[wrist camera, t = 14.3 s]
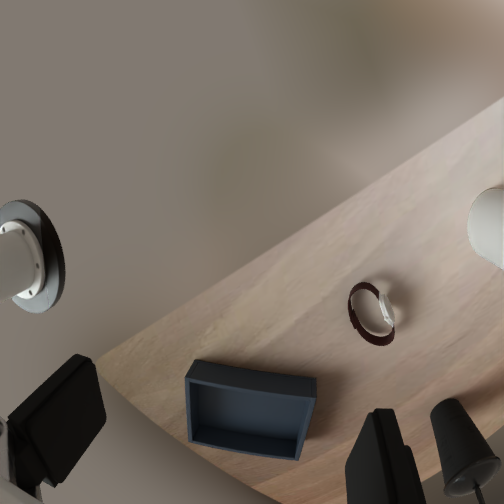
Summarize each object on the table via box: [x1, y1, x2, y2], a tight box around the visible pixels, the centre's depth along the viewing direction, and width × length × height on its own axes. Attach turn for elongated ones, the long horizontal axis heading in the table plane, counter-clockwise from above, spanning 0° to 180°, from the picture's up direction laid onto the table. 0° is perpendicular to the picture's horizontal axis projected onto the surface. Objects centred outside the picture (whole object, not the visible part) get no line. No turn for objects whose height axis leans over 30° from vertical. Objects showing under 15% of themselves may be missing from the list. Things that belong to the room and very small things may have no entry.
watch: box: [348, 282, 395, 346], centre depth 31 cm, size 8×5×4 cm, turn 33°
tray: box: [185, 360, 317, 461], centre depth 37 cm, size 15×12×4 cm
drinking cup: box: [430, 398, 501, 504], centre depth 25 cm, size 8×8×20 cm
